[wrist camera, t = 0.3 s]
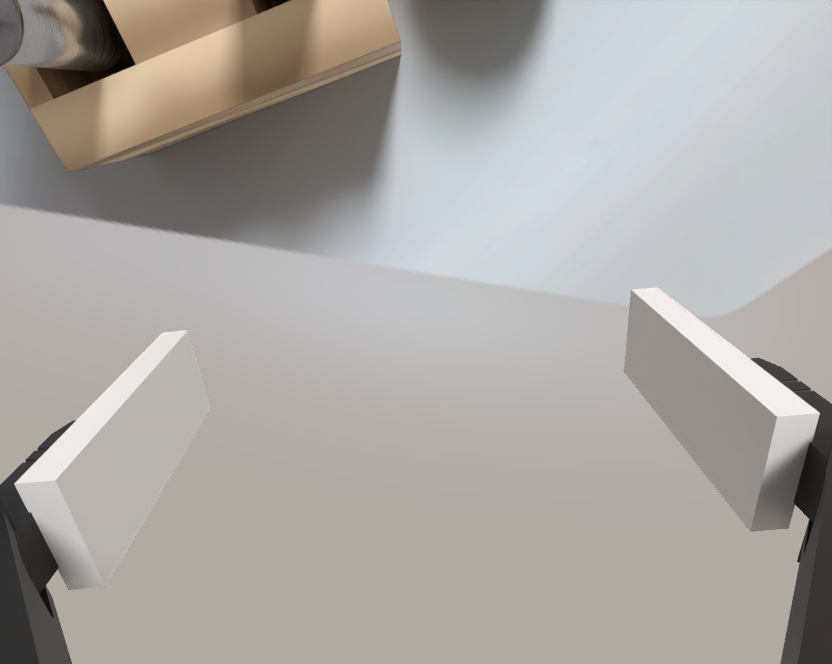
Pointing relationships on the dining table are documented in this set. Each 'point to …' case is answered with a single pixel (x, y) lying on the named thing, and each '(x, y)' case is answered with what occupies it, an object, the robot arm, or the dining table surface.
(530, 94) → the dining table surface
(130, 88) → the oak block
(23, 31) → the metal pin
